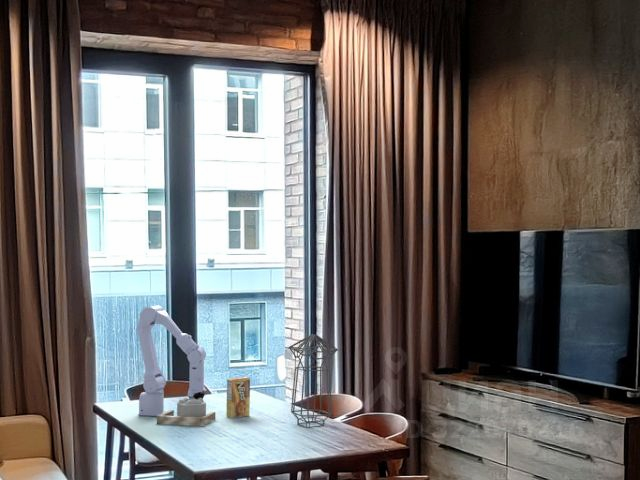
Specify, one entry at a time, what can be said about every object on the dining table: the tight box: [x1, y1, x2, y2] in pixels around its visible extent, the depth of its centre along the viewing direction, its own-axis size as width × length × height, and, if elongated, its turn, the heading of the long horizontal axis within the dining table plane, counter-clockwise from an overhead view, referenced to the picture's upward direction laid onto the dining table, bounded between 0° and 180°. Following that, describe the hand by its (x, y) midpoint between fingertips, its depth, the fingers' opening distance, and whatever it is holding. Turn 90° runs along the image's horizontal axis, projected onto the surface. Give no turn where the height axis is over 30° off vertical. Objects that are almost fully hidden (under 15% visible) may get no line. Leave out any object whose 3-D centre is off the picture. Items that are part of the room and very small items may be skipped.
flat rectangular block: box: [156, 409, 216, 427], centre depth 341 cm, size 19×14×3 cm
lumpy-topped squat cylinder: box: [176, 397, 207, 417], centre depth 344 cm, size 10×13×9 cm
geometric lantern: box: [287, 333, 340, 429], centre depth 337 cm, size 16×16×35 cm
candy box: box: [225, 376, 251, 419], centre depth 353 cm, size 9×4×15 cm, turn 129°
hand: (196, 411), depth 351 cm, fingers closed
